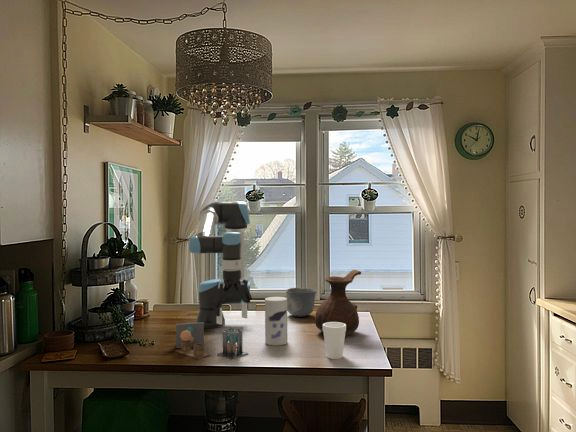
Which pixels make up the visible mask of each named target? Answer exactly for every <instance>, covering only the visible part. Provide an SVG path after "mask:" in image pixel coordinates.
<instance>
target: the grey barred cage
mask: <svg viewBox="0 0 576 432" xmlns="http://www.w3.org/2000/svg"><path fill="white" fill-rule="evenodd" d="M229 331H231V332H229ZM235 331H236V332H235ZM232 332H235V333H232ZM221 333H222V351H220V352H219V353H217V354H216V355H217V356H220V357H222V358H226V359H229V360H234V359H237V358H241V357H244V356H247V355H249V353H248V352H245V351H243V329H241V328H236V327H235V328H233V327H232V328H225V329H223V330H222V332H221ZM229 334H230V336H231V353H228V352H227V343H229V341H228V335H229ZM233 334H237V343H236V345H237V349H236V351H235V352H234V353H233Z"/></svg>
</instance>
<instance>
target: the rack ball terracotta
mask: <svg viewBox="0 0 576 432" xmlns="http://www.w3.org/2000/svg"><path fill="white" fill-rule="evenodd" d="M180 337H181V339H182V340H183V341H189V340H190V339H191V332H190V331H188V330H185V331H183V332H182V333H181V335H180Z"/></svg>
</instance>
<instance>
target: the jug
mask: <svg viewBox="0 0 576 432" xmlns="http://www.w3.org/2000/svg"><path fill="white" fill-rule="evenodd" d="M360 275H362V272H361V270H357V269H352V270H351V271H349V273H347V274H346V275H345V276H342V277H341V276H333V275H331V276H327V277H326V278H325V279H324V281H325V282H326V283H328V284H329V286H330V289H331V290H330V294H329V296H328V297H327V298H326V299H325V300H323V301H322V302H321V303H320V304H319V306H318V307H317V309H316V312H315V316H314V323H315V326H316V328H317V330H320V331H321V332H322V333H323V324H324V323H327V322H340V323H344V324H346V332H345V337H346V336H349V335H351V334H353V333H354V332H355V331H357V330H358V329H359V324H360V317H359V314H358V311H357V309H358V305H357V304H355V303H353V302H352V301H350V300H349V299H348V296H347V294H346V289H347V286H348V285H349V284H350V283H353V281H354V279H355V277H356V276H360Z"/></svg>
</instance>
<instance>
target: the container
mask: <svg viewBox="0 0 576 432" xmlns="http://www.w3.org/2000/svg"><path fill="white" fill-rule="evenodd" d="M264 310H265V311H264V329H265V330H264V331H265V333H264V334H265V336H264V337H265V338H264V339H265V341H264V342H265V344H266V345H269V346H282V345H283V346H284V345H286V344H288V310H287V297H284V296H269V297H265V298H264Z"/></svg>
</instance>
